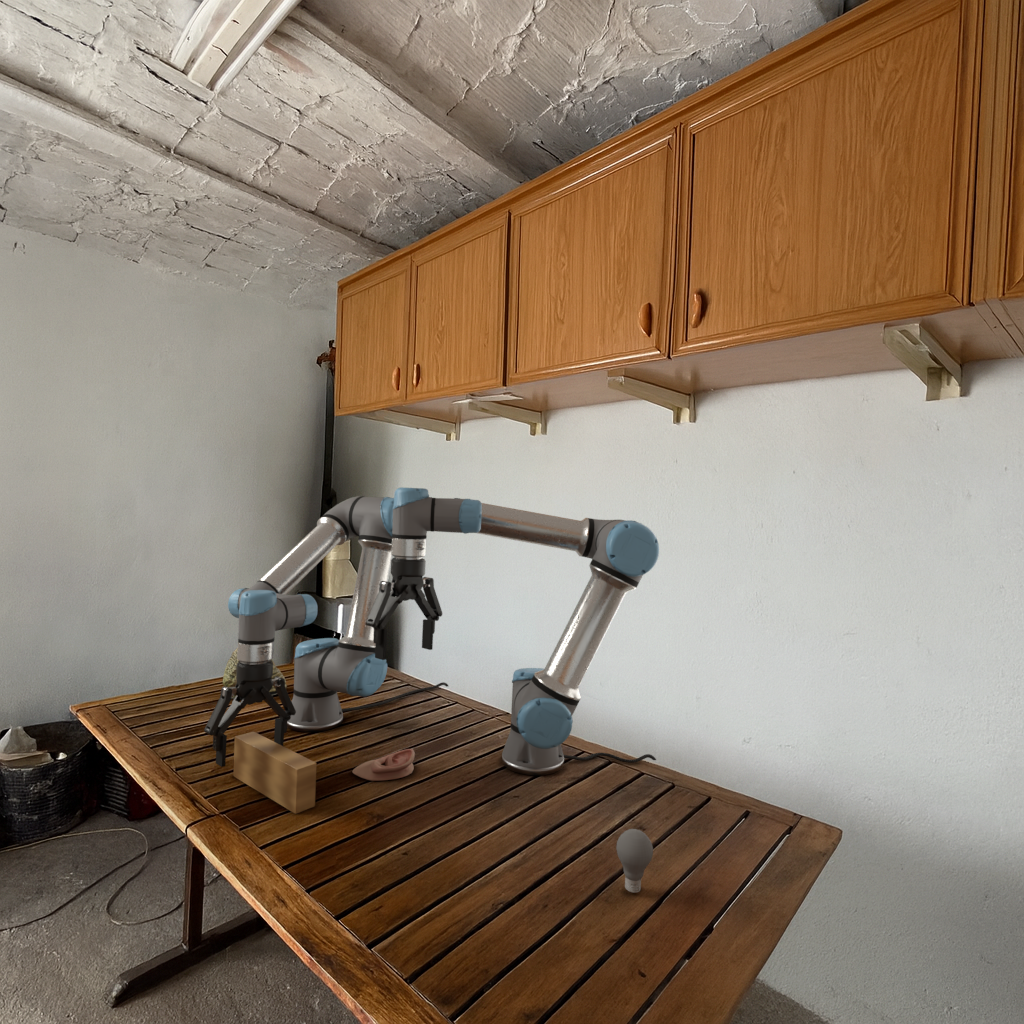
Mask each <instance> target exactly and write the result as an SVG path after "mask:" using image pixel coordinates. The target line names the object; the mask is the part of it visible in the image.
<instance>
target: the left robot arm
mask: <svg viewBox="0 0 1024 1024" xmlns="http://www.w3.org/2000/svg"><path fill="white" fill-rule="evenodd" d="M393 505H394V497H390V496H365V495H357V496H352V497H349V498H347V499H345V500H343V501H341V502H339V503H337V504H335V505H334V506H333V507H332V508H330V509H329V510H327V511H326V512H325V513H324V514H323V515H322V516H321V517H320V518H319V519H318V520H316V521H317V522H316V526H315V527H314V528H313V529H312V530H311V531H309V533H308V534H306V535H305V537H303V538H302V539H301V540H300V541H299V542H297V543H296V545H295V546H294V547H292V548H291V549H290V550H289V551H288V552H287V553H286V554H285V555H284V556H282V558H280V559H279V561H278V562H276V563H275V564H274V565H273V566H272V567H271V568H270V569H269V570H268V571H267V572H266V573H264V574H263V576H261V577H260V578H259V579H257V581H256V582H255V583H253V585H251V586H250V587H249V588H248V587H243V588H238V589H235V590H234V591H233V592H232V593H231V595H230V596H229V598H228V603H227V609H228V611H229V613H230V615H231V616H232V617H234V618H236V619H238V633H237V634H238V636H237V637H238V638H237V648H238V651H237V660H239V662H238V663H237V671H236V679H237V683H236V686H235V687H229V688H228V687H226V686H224V685H223V686H221V689H220V694H219V695H220V696H219V698H218V700H217V703H216V705H215V707H214V709H213V710H212V712H211V715H210V716H209V718H208V721H207V723H206V725H205V727H204V729H203V732H204V733H205V734H207V735H209V736H212V750H214V751H215V764H216V765H218V766H219V767H221V768H223V767H226V761H227V742H228V740H227V739H228V735H227V734H225V733H226V731H227V730H228V728H229V727H230V725H231V724H232V723H233V721H234V720H235V719H236V717H238V714H239V713H240V712H241V710H243V709H244V708H245V707H246V706H247V705H249V706H250V705H253V704H256V703H258V704H259V703H262V702H263V701H264V702H265V703H266V704H267V705H268V706H269V707H270V709H271V710H272V712H274V713H275V715H277V718H274V735H273V741H274V742H276V743H278V744H280V745H282V746H284V741H285V734H286V733H287V731H288V729H289V730H291V731H294V732H295V731H296V732H301V733H316V732H325V731H329V730H332V729H335V728H337V727H339V726H340V725H342V723H343V722H344V714H343V713H344V712H345V713H346V712H352V711H360V710H365V709H371V708H375V707H379V706H383V705H386V704H390V703H391V702H393V701H395V700H398V699H401V698H403V697H406V696H409V695H412V694H415V693H420V692H424V691H430V690H435V689H437V688H439V687H441V686H445V687H449V684H448V683H447V682H440V683H437V684H436V685H432V686H433V687H432V686H428V687H427V686H426V687H422V688H417V689H413V690H409V691H407V692H403V693H401V694H399V695H395V696H393V697H391V698H389V699H385V700H383V701H379V702H375V703H371V704H366V705H360V706H353V707H346V708H342V706H341V702H340V699H339V695H338V693H342V694H347V695H349V696H351V697H361V698H364V697H365V698H367V697H370V696H372V695H373V694H375V693H376V692H377V691H378V689H380V688H381V687H382V685H383V683H384V681H385V679H386V676H387V674H388V673H387V672H388V662H387V659H386V660H381V659H378V658H375V643H374V641H373V638H374V628H373V627H371V626H367V625H366V621H367V618H368V616H369V614H370V611H371V609H372V606H373V604H374V602H375V599H376V597H377V594H378V592H379V586H380V582H381V581H386V582H389V578H390V575H391V560H392V558H394V556H392V555H391V549H392V528H393ZM352 538H358V539H357V543H358V544H359V545H360V547H361V553H360V558H359V563H358V569H357V574H356V580H355V585H354V590H353V594H352V595H353V596H352V600H351V605H350V610H349V616H348V622H347V626H346V631H345V635H344V636H342V637H341V638H340V639H338V638H335V637H324V638H323V637H322V638H313V639H308V640H304V641H302V642H299V643H298V644H297V645H296V647H295V652H294V653H295V654H294V657H293V658H294V660H293V662H294V663H293V665H294V666H293V695H292V696H293V697H292V699H291V697H290V695H289V693H288V690H287V687H286V688H285V680H286V678H285V679H284V678H281V677H278V676H276V677H275V678H274V679H271V677H272V675H273V662H272V660H273V659H274V653H275V652H274V649H275V636H276V632H277V631H281V630H288V629H289V630H290V629H294V628H301V627H304V626H308V625H310V624H312V623H314V622H315V620H316V618H317V616H318V603H317V601H316V599H315V597H313V596H312V595H311V594H308V593H304V594H303V593H302V594H301V593H297V594H289V593H290V592H291V591H292V590H293V589H294V588H295V587H296V586H297V585H299V584H300V582H301V581H302V580H303V579H304V578H305V577H306V576H308V574H309V573H310V572H311V571H312V570H314V568H315V567H317V565H318V564H319V563H320V562H321V561H322V560H323V559H324V558H325V557H326V556H328V554H330V553H331V551H333V550H334V549H335V547H336V546H341V545H344V544H345V543H346V542H347V541H348V540H349V539H352ZM271 659H272V660H271ZM272 686H273V687H275V689H276V691H277V694H276V695H277V696H278V698H279V701H280V702H281V704H279V702H278V701H277V700H276V699H275V697H274V695H271V694H270V693H269V691H270V690H271V688H272ZM234 693H236V694H237V696H236V697H235V698H232V697H233V696H234ZM232 699H233V700H232ZM231 700H232V701H231ZM230 703H231V704H230ZM281 705H282V706H281Z"/></svg>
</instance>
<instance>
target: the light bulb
mask: <svg viewBox="0 0 1024 1024" xmlns="http://www.w3.org/2000/svg"><path fill="white" fill-rule="evenodd" d="M615 849H616V854H617V857H618V859H619V861H620V863H621V865H622V867H623V873H624V874H623V875H624V876H625V878H624V888H625V890H627V891H628V892H630V893H634V894H635V893H639V892H640V891H641V889H642V887H641V886H642V879H643V877H644V875H645V871H646V868H647V867H648V866H649V864H650V863H651V861H652V859H653V855H654V847H653V843H652V841H651V838H649V836H648V835H647V834H646V833H645V832H643V831H642V830H641V829H636V828H629V829H627V830H625V831H623V832H622V833H621V834H620V835H619V837H618V839H617V841H616V847H615Z"/></svg>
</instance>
